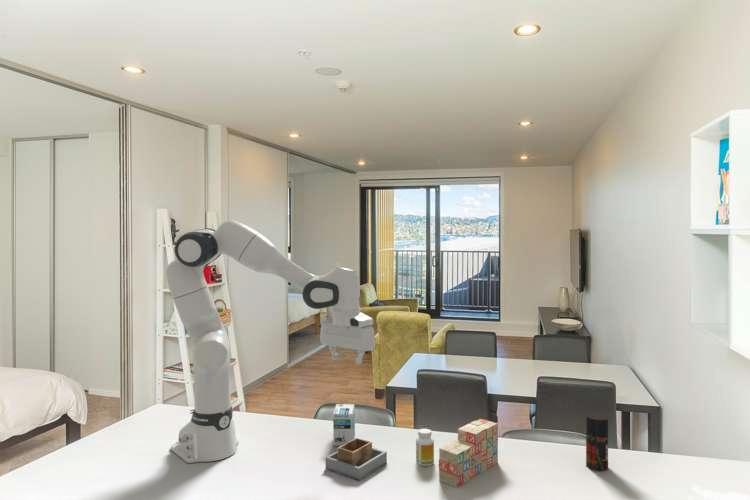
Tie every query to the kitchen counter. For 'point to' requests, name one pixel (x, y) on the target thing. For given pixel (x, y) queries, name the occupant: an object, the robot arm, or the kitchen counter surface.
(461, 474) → the stack of blocks
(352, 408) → the light bulb box
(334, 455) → the grey square tray
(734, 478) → the kitchen counter surface
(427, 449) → the supplement bottle
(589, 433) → the deodorant
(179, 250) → the robot arm
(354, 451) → the small crate
